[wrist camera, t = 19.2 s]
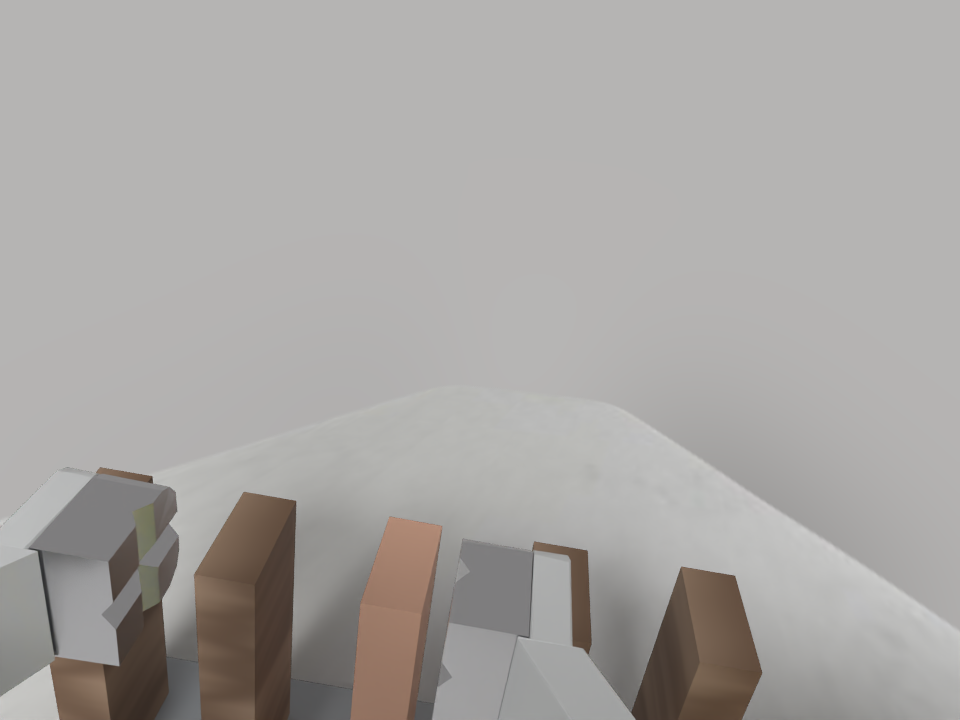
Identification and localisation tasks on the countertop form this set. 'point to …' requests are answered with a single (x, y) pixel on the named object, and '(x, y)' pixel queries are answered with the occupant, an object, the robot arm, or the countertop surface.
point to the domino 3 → (395, 622)
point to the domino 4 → (576, 592)
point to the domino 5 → (700, 654)
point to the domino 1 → (117, 671)
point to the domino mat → (312, 705)
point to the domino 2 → (247, 612)
